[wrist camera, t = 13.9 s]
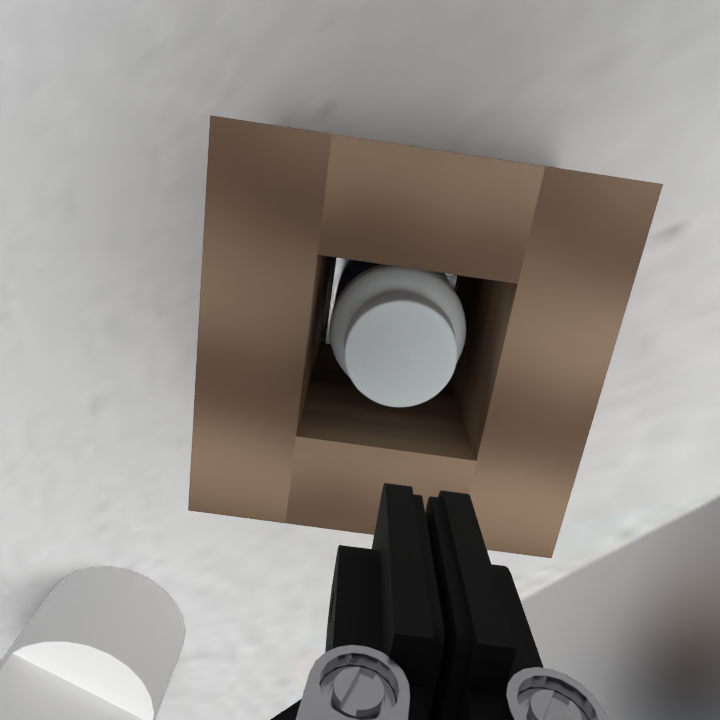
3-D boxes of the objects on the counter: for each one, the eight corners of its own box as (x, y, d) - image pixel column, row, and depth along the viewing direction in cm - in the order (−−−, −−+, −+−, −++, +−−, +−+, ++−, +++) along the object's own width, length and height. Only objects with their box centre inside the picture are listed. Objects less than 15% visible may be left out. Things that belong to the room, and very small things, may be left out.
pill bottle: (326, 328, 31) (307, 406, 22) (353, 225, 29) (344, 262, 20) (428, 354, 31) (451, 441, 22) (460, 254, 30) (500, 303, 21)
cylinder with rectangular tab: (20, 636, 39) (-121, 834, 28) (83, 541, 37) (-44, 717, 26) (143, 699, 41) (56, 910, 30) (211, 612, 39) (145, 807, 27)
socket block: (268, 125, 29) (210, 115, 18) (559, 169, 29) (662, 183, 19) (245, 396, 33) (188, 510, 23) (496, 431, 34) (551, 558, 24)
